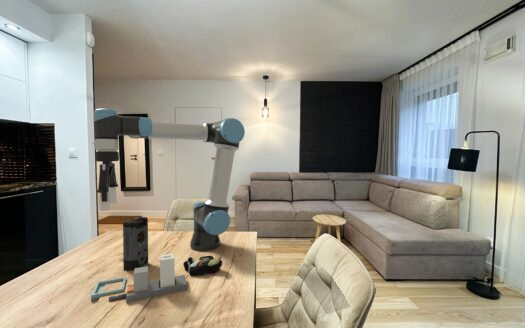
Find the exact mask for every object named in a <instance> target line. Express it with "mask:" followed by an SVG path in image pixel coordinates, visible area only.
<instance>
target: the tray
mask: <svg viewBox="0 0 525 328" xmlns="http://www.w3.org/2000/svg"><path fill="white" fill-rule="evenodd" d="M116 282H122V284H121V288H117V289H112V290H107V291H103V290H104V288H105V285H106V284H110V283H116ZM126 283H127V276H122V277H117V278H112V279H105V280H100V281H96V284H95V286H94V288H93V291H92V292H91V294H90V301H91V302H93V301H98V300H100V298H101V297H102V296H103V297H104V296H108V295H113V294H118V293H123V292H124V291H125V287H126Z"/></svg>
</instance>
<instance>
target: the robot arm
mask: <svg viewBox="0 0 525 328" xmlns="http://www.w3.org/2000/svg"><path fill="white" fill-rule="evenodd" d="M93 130H94V131H93V133H94V134H93V135H94V141H93V142H92V144H93V145H94V149H95V150H96V151H95V152H94V154H95V155H94V158H95V162H101V164H99V177H98V189H97V191H96V192H97V194H99V196H100V197H99V201H100V202H99V203H100V212H105V211H106V212H107V211H111V205H112V204H117V203H118V202H117V187H119V184H118V183H117V176H116V168H115V167H116V166H115V163H114V162H119V160H120V153H119V150H120V147H119V146H120V145H119V141H120V139H119V136H121V137H123V136H127V137H129V138H130V139H134V140H137V139H153V140H154V139H155V140H156V139H160V140H184V141H185V140H187V141H190V140H191V141H202V142H203V143H212V144H213V145H214V147H215V148H216V150H215V158H214V163H213V169H212V174H211V180H210V187H209V192H208V198H207V200H204V201H196V202H194V203H193V209H192V210H193V233H192V236H191V239H190V242H189V243H190V245H189V246H190V249H192V250H194V251H198V252H204V251H206V252H207V251H212V250H216V249H218V248H219V247H220V246H221V239H220V236H219V235H222V234H224V232H226V231H227V230H228V228H229V227H230V224H231V216H230V214H229V207H230V204H228V202H227V199H228V194H229V188H230V183H231V182H230V181H231V176H232V171H233V163H234V159H235V158H234V157H235V153H236V151H238V150H239V146H240V142H241V141H242V140H243V139H244V138H245V134H246V131H245V127H244V125H243V123H242V122H241V121H240V120H239V119H237V118H233V117H230V118H223V120H221V121H220V120H219V121H217V122H211V123H208V122H205V123H203V124H191V123H190V124H189V123H175V122H173V123H172V122H160V121H159V122H156V121H152V118H150V117H143V116H124V115H119V114H118V110H115V109H110V108H96V109H95V110H94V111H93Z"/></svg>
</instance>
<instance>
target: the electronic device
mask: <svg viewBox="0 0 525 328" xmlns="http://www.w3.org/2000/svg"><path fill="white" fill-rule="evenodd" d="M122 248H123V249H122V255H123V258H122V259H123V261H122V262H123V271H124V272H129V271H134V269H135V268H140V267H146V266H148V264H149V218H148V217H146V216H136V217H132V218H131V219H127V220H124V221H123V222H122Z"/></svg>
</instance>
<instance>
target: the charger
mask: <svg viewBox="0 0 525 328" xmlns="http://www.w3.org/2000/svg"><path fill="white" fill-rule="evenodd" d="M175 261H176V260H175V254H174V253H167V254H161V255H159V269H160V271H159V275H160V277H159V279H160V288H164V287H169V286H174V285H175V276H176V274H175V273H176V271H175V270H176V269H175V266H176V265H175V263H176V262H175Z"/></svg>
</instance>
